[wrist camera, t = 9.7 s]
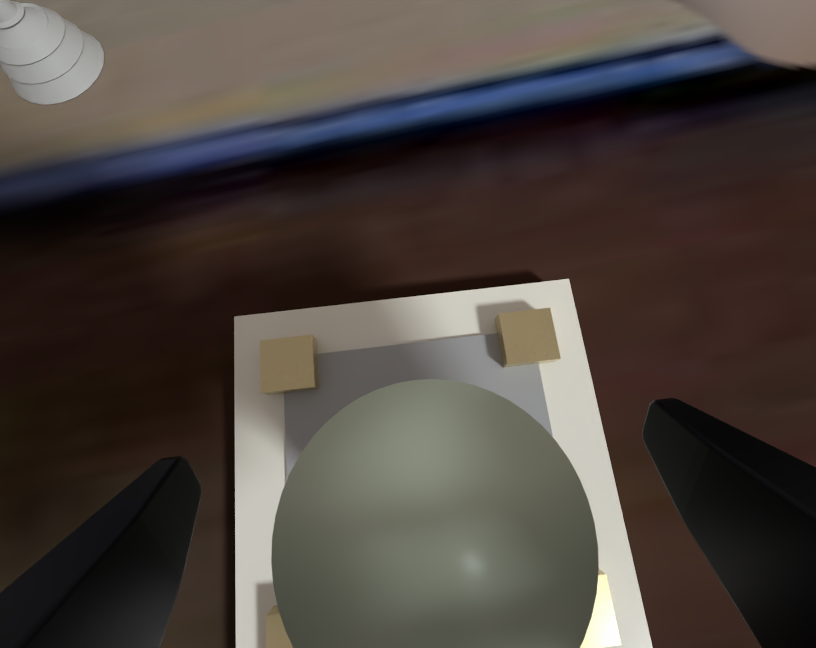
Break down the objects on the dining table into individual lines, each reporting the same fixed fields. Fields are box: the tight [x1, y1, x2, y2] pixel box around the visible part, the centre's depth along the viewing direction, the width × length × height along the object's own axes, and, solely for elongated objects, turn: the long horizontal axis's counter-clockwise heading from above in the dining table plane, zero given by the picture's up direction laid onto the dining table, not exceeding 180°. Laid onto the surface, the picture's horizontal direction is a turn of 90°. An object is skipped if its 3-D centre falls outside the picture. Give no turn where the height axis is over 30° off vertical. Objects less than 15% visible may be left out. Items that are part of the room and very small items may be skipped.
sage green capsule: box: [271, 379, 599, 648], centre depth 11 cm, size 5×5×9 cm
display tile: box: [234, 279, 653, 648], centre depth 15 cm, size 14×14×2 cm
